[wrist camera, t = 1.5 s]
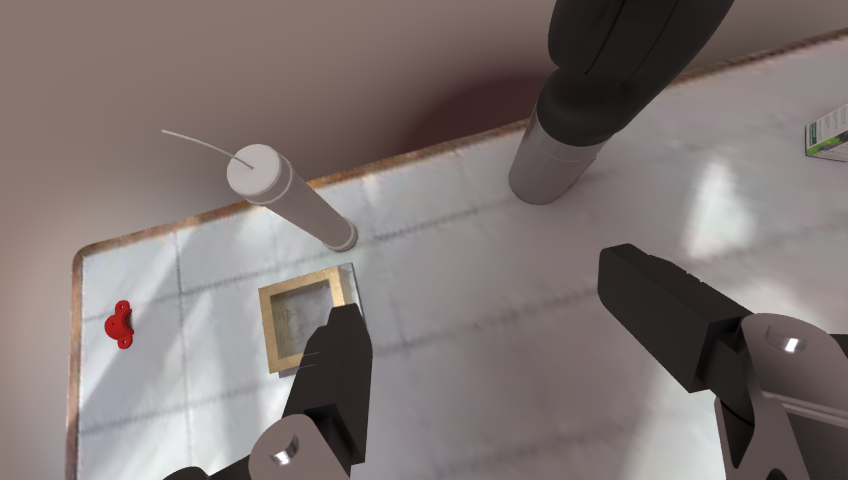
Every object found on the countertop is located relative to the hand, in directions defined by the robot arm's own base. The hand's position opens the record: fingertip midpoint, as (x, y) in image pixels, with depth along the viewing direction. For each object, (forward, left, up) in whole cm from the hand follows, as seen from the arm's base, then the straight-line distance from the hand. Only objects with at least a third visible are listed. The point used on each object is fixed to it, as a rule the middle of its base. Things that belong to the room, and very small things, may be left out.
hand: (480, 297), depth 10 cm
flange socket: (+21, -5, -38) cm, 44 cm away
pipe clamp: (+53, -13, -39) cm, 67 cm away
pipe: (+15, -17, -38) cm, 45 cm away
